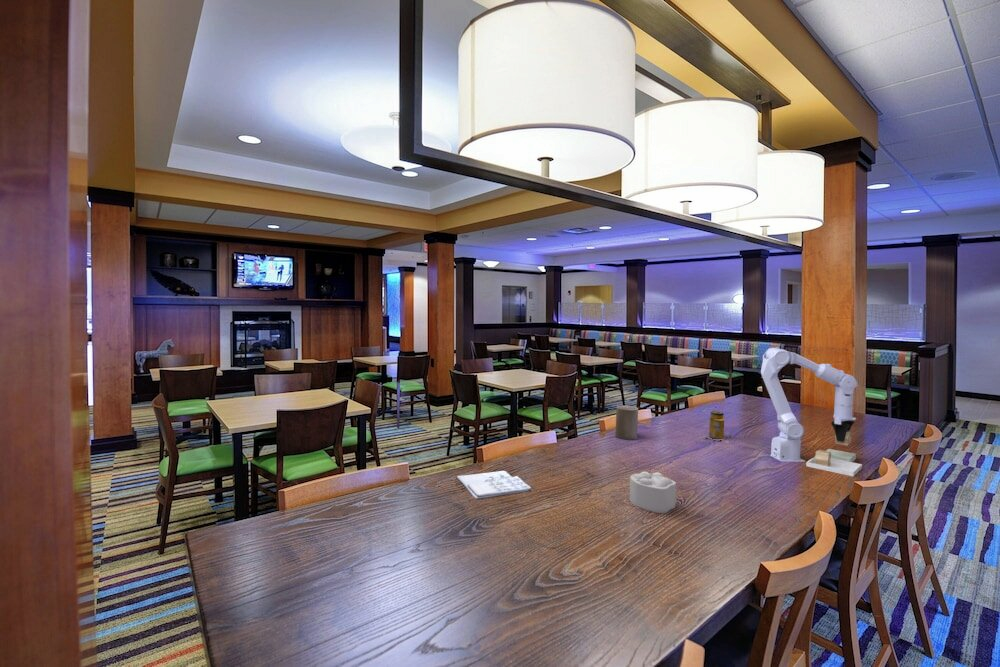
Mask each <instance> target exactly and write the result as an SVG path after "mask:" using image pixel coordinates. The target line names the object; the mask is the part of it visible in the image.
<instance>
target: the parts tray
mask: <svg viewBox="0 0 1000 667" xmlns="http://www.w3.org/2000/svg"><path fill="white" fill-rule="evenodd" d="M805 462H806V463H805V464H806V467H808V468H812V469H817V470H821V471H825V472H830V473H835V474H840V475H844V476H848V477H853V478H854V477H855V476H856V475H857V474H858V473H859V472H860V471H861V470H862V469H863V464H862V463H857V462H854V461H853V462H848V461H843V460H838V459H833V458H831V465H830V466H829V467H828V466H824V465H819V464H815V456H814V457H812V458H810V459H808V461H805Z"/></svg>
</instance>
